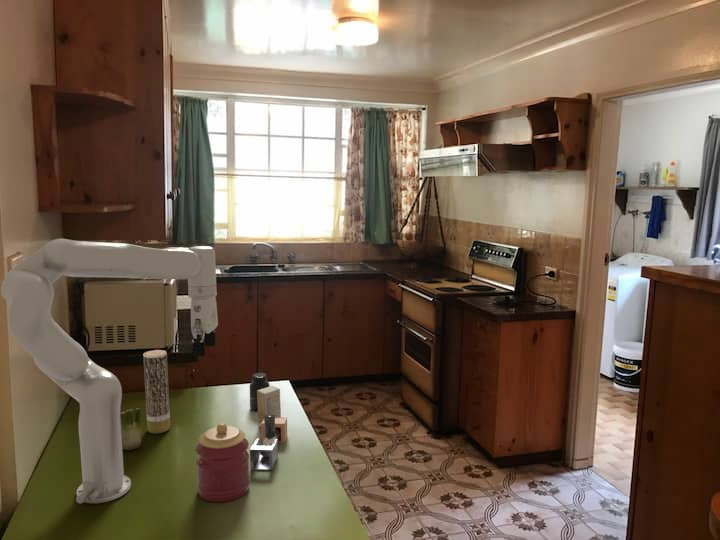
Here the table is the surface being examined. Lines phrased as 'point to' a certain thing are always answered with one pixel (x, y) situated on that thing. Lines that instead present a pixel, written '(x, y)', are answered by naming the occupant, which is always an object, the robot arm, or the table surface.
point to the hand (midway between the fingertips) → (204, 350)
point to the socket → (281, 425)
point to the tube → (269, 432)
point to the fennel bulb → (131, 429)
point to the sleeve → (260, 461)
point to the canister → (222, 464)
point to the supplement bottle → (257, 388)
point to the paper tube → (156, 391)
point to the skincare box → (268, 402)
